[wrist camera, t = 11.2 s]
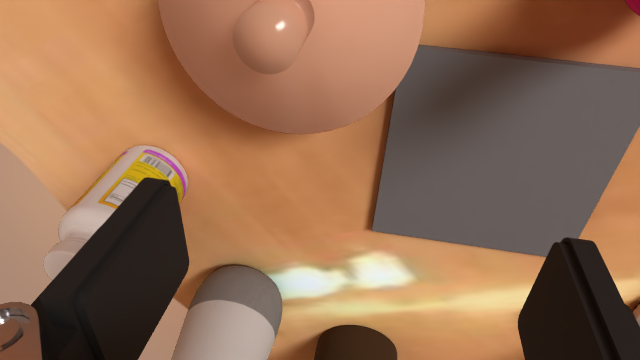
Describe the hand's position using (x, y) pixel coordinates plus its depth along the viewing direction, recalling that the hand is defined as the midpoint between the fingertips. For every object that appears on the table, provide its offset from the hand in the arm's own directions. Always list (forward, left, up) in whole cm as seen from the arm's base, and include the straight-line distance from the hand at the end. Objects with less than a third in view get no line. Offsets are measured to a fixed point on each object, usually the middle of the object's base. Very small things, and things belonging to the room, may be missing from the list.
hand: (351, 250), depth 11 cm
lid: (+1, +5, -18) cm, 18 cm away
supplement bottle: (-17, +19, -23) cm, 34 cm away
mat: (-11, -10, -23) cm, 27 cm away
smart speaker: (-31, +11, -23) cm, 40 cm away
